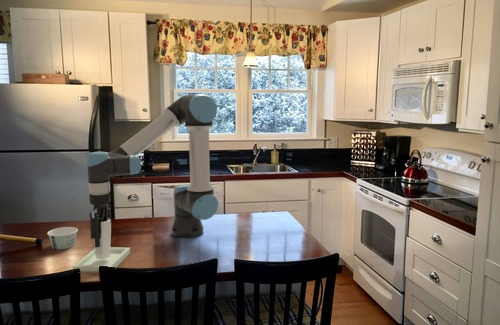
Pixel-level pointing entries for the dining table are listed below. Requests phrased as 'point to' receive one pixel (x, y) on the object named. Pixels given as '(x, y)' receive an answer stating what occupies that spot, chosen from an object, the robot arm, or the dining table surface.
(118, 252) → the tray
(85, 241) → the dining table surface
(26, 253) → the dining table surface
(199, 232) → the robot arm
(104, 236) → the drinking glass
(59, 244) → the food container
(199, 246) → the dining table surface
